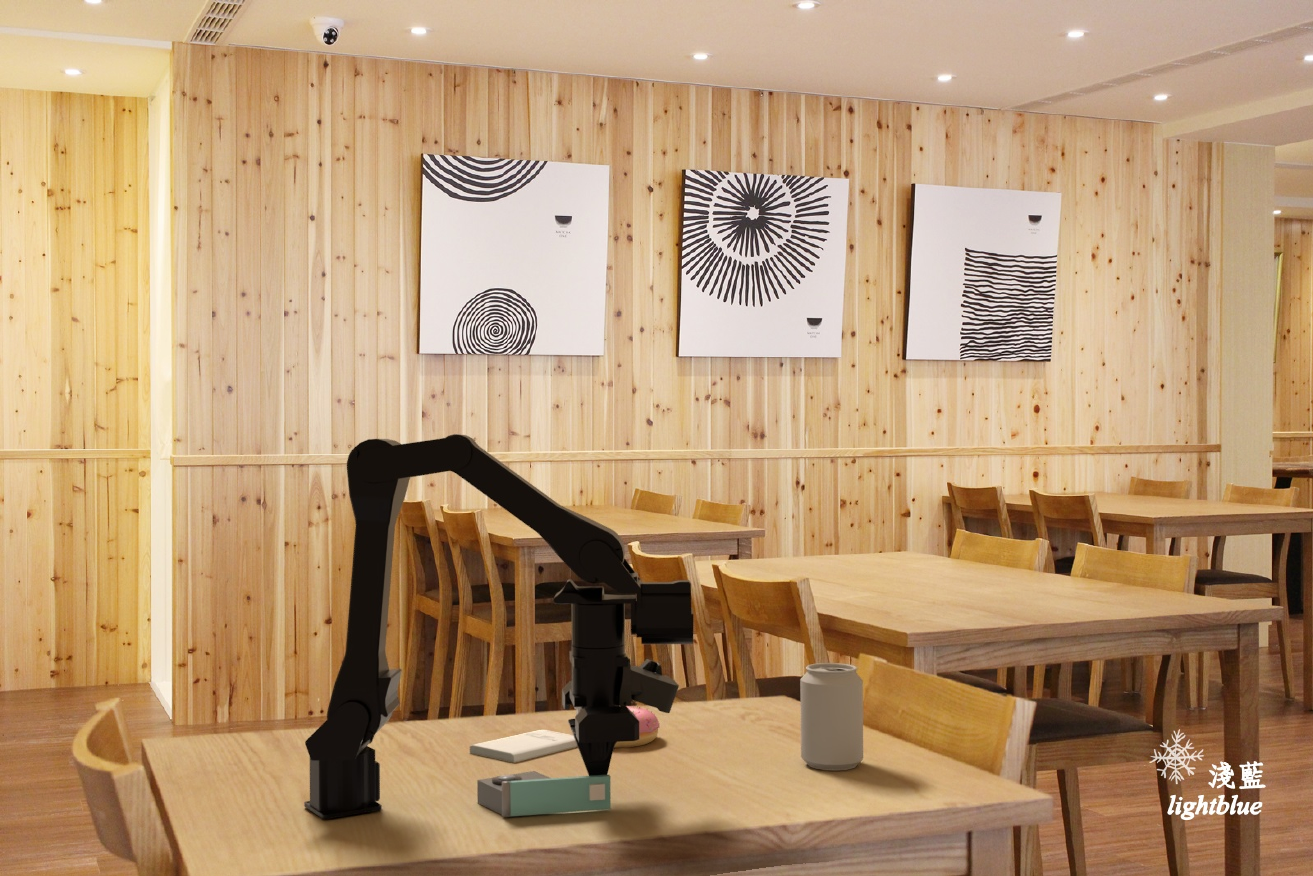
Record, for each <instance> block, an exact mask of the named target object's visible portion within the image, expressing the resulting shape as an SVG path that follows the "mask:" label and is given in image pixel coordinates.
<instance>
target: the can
mask: <svg viewBox="0 0 1313 876" xmlns="http://www.w3.org/2000/svg"><path fill="white" fill-rule="evenodd" d="M805 669H806V672H805V673H804V675H803V676H802V677H801V678H800V679H799V681H800V683H799V685H800V688H799V689H800V757H801V759H802V760H803V762H805V763H806V764H807V765H808V766H807V767H810V768H812V769H817V770H822V771H832V772H833V771H847V770H848V771H849V770H851V769H855V768H857V766H858V765H859V764H860V762H862V761H863V759H864V702H863V701H864V694H863V693H864V689H863V688H864V684H863V683H864V680H863V679H862V677H860V676H859V674H858V673H857V670H858V667H857V666H856V665H853V664H847V663H838V662H837V663H836V662H822V663H821V662H820V663H819V662H818V663H812V664H808V665H806V667H805Z"/></svg>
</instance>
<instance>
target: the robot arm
mask: <svg viewBox="0 0 1313 876" xmlns="http://www.w3.org/2000/svg"><path fill="white" fill-rule="evenodd" d="M346 472H347V473H346V476H347V484H348V485H347V487H348V495H349V499H350V504H351V508H352V511H353V516H354V523H355V527H354V529H355V530H354V544H353V554H352V568H351V578H350V589H349V590H350V592H349V604H348V618H347V619H348V620H347V629H346V641H345V642H346V643H345V652H344V653H345V654H344V657H343V659H342V663H341V665H340V667H339V670H338V672H337V676H336V678H335V681H334V684H333V688H332V691H331V696H330V699H329V704H328V708H327V711H326V712H327V713H326V720H325V721H324V722H323V723H322V724H321V725H320V726H319V727H318V728H317V729H316V730H315V731H314V732H313V733H312V734H311V735H310V736H309V737H308V738H307V739H305V741H304V744H305V749H306V750H307V753H308V755H309V800H307V801H304V802H303V803H304V805H303V806H304V808H305V809H308V811H311V812H312V813H314V814H315V815H316V816H318V817H319V818H320V819H323V820H327V819H334V818H341V817H342V818H343V817H347V816H351V815H359V814H364V813H370V812H377V811H381V810H382V809H383V808H382V807H383V806H382V804H381V803H379V801H380V799H381V782H380V781H381V774H380V772H381V771H380V770H381V764H380V762H378V761H376V749H374V748H372V747H370V746H369V745H370V744H371V743H373V741H374V739H375V736H376V734H377V733H378V732H379V731H380V730H382V728H383V727H384V726H385V725H387V722H389V720H390V719H391V718H392V715H393V712H394V711H395V710H396V709H397V708H398V707H399V706H400V704H401V702H400V699H399V693H398V690H399V689H398V688H399V683H400V679H401V675H402V671H403V670H402V669H401V668H394V669H393V668H391V669H390V667H389V663H388V659H387V653H386V652H387V651H386V646H387V633H388V623H389V621H388V620H389V608H390V607H389V605H390V595H391V594H390V593H391V582H392V580H391V579H392V571H393V570H392V569H393V558H394V557H393V556H394V555H393V554H394V544H395V542H394V541H395V531H396V523H397V520H398V517H399V514H400V512H401V509H402V507H403V504H404V501H405V498H406V495H407V490H408V489H409V488H408V487H409V483H410V479H411V478H414V477H422V476H427V475H433V474H439V473H445V472H452V473H454V474H456V475H457V476H458V477H460V478H461V479H462V480H464V481H465V482H467V483H469V484H470V485H471V486H472V487H474V488H475V489H476V490H478V491H480V493H482V494H484V495H485V496H486V497H488V498H489V499H491V500H492V501H493V502H495V503H496V504H497V505H498V506H500V507H501V508H503V509H504V510H505V511H507V512H508V513H509V514H511V515H512V516H513V517H515V518H517V519H518V520H519V521H521V522H522V523H523V524H524V525H526V526H527V527H529V528H530V529H531V530H533V531H535V533H537V534H538V536H540V537H541V538H542V539H543V540H544V542H546V544H548V546H549V547H550V549H552V551H554V553H555V554H556V555H557V556H558V557H559V558H560V559H561V561H563V563H564V564H565V565H566V566H567V567H568V568H569V569H570V570H571V571H572V572H573V573H574V574H575V575H576V576H577V577H578V578H579V579H581V580H582V581H584V582H586V583H590V584H601V583H604V584H605V585H607V586H608V587H610V588H612V589H613V590H614V591H616V592H617V593H619V594H606V593H605V588H604V586H578V585H577V584H576V583H575V582H574V581H573V579H570V578H569V579H567V581H566V582H565V585H564V587H562V588H561V589H560V591H558V592H556V593H555V595H554V597H553V600H552V601H553V603H554V604H555V605H571V608H570V609H571V650H569V663H570V664H571V680H569V681H568V682H567V683H566V684H565V686H563V687H562V688H561V705H562V707H563V709H564V711H566V710H567V711H569V710H570V708H571V705H572V706H573V708H574V710H575V716H574V718H570V719H568V720H567V723H568V725H569V728H570V730H571V733H572V735H573V736H574V738H575V741H576V744H577V746H578V747H577V748H578V751H579V753H580V757H581V758H582V761H583V764H584V766H585V770H586V772H587V774H588V775H587V776H595V775H609V774H608V773H609V769H610V764H611V761H612V756H613V752H614V749H615V748H614V746H615V744H616V742H623V741H636V740H639V720H638V719H637V717H636V716H635V714H634V713H633V712H632V711H631V710H629V709H628V708H627V707H626V706H630V707H632V701H634V702H637V703H640V704H643V705H646V706H649V707H652V708H655V709H657V710H658V711H659V712H662V713H665V714H670V713H671V710H672V708H673V704H674V701H675V699H676V695H677V693H678V690H679V688H680V685H679V684H678V683H677V682H676V680H675V679H673V678H671V677H670V676H668V675H663V669H662V665H661V663H659V662H658V661H655V660H652V659H649V658H646V659H645V660H644V661H643V662H642V663H641V664H640V665H632V664H631V658H630V657H629V656H628V655H627V654H626V649H625V648H626V640H625V639H626V631H625V630H626V629H625V627H626V626H625V625H626V622H625V621H626V620H625V618H626V614H625V613H626V612H625V611H626V610H625V607H626V605H625V604H628V605H629V604H630V634H631V636H635V637H636V638H641V639H640V640H641V641H640V643H641V645H694V610H693V607H692V582H691V581H690V580H689V579H679V580H674V581H642V579H641V577H639V573H638V571H637V572H636V571H635V569H634V568H633V567H632V566H631V565H630V563H629V562H628V560H627V559H626V558H625V554H626V549H625V544H624V541H623V539H622V536H620V535H619V534H618V533H617V532H616V531H615V530H614V529H612V528H609V527H608V526H607V525H603V524H601V523H600V522H597V521H596V520H594V519H592V518H590V517H587V516H584V514H580V513H578V512H576V511H574V510H571V509H570V508H567V507H565V506H563V505H561V504H560V503H558V502H557V501H555V500H553V498H551V497H549V495H547V494H546V493H545V492H543V491H541V490H540V489H539V488H538V487H536V486H535V485H533V484H532V483H530V481H528V480H526V479H525V478H524V477H522V476H520V475H519V474H518V473H517V472H515V471H514V470H512V468H510V467H509V466H507V465H506V464H504V463H503V462H502V461H500V460H499V459H498V458H496V457H495V456H494V455H492V454H491V453H489V452H488V451H486V449H484V448H483V447H481V446H480V445H478V443H477V442H476V441H475V439H474V438H473V437H470V436H469V435H466V434H461V433H460V434H456V433H454V434H451V435H447V436H445V437H442V438H436V439H430V440H422V441H415V442H409V443H408V442H407V443H402V444H401V442H399V441H397V440H394V439H390V438H369V439H367V440H362V441H361V442H359V443H358V444H357V445H356V446H354V448H353V449H351V450H350V452H349V454H348V457H347V460H346Z"/></svg>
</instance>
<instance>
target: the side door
mask: <svg viewBox="0 0 1313 876" xmlns="http://www.w3.org/2000/svg"><path fill="white" fill-rule="evenodd" d="M611 793H612V792H611V775H610V774H607V775H595V776H589V775H583V776H582V775H581V776H579V775H578V776H567V777H566V776H564V777H550V778H549V779H533V780H518V781H503V782H502V815H501V817H504V818H510V817H519V816H533V815H534V816H535V815H549V814H558V813H559V814H560V813H577V812H587V811H588V812H589V811H601V810H602V811H604V810H611V809H612V808H611V805H612V803H611V801H612V800H611V799H612V796H611Z"/></svg>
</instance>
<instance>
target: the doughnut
mask: <svg viewBox="0 0 1313 876" xmlns="http://www.w3.org/2000/svg"><path fill="white" fill-rule="evenodd" d="M626 707H627V708H628V709H629V710H631V711H632V712H633V713H634V714H635V716H636V717H637V719H638V720H639V740H636V741H623V742H616V744H615V746H614V749H621V748H625V749H626V748H634V746H636V747H639V746H640V747H641V746H644V745H647V744H650V743H651V742H653V740H655V739H656V738H657V736H658V734H659V728H660V722H659V719H658V717H657V715H656V713H653V711H652V710H649V709H648V708H643V707H641V706H633V705H631V706H626Z"/></svg>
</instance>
